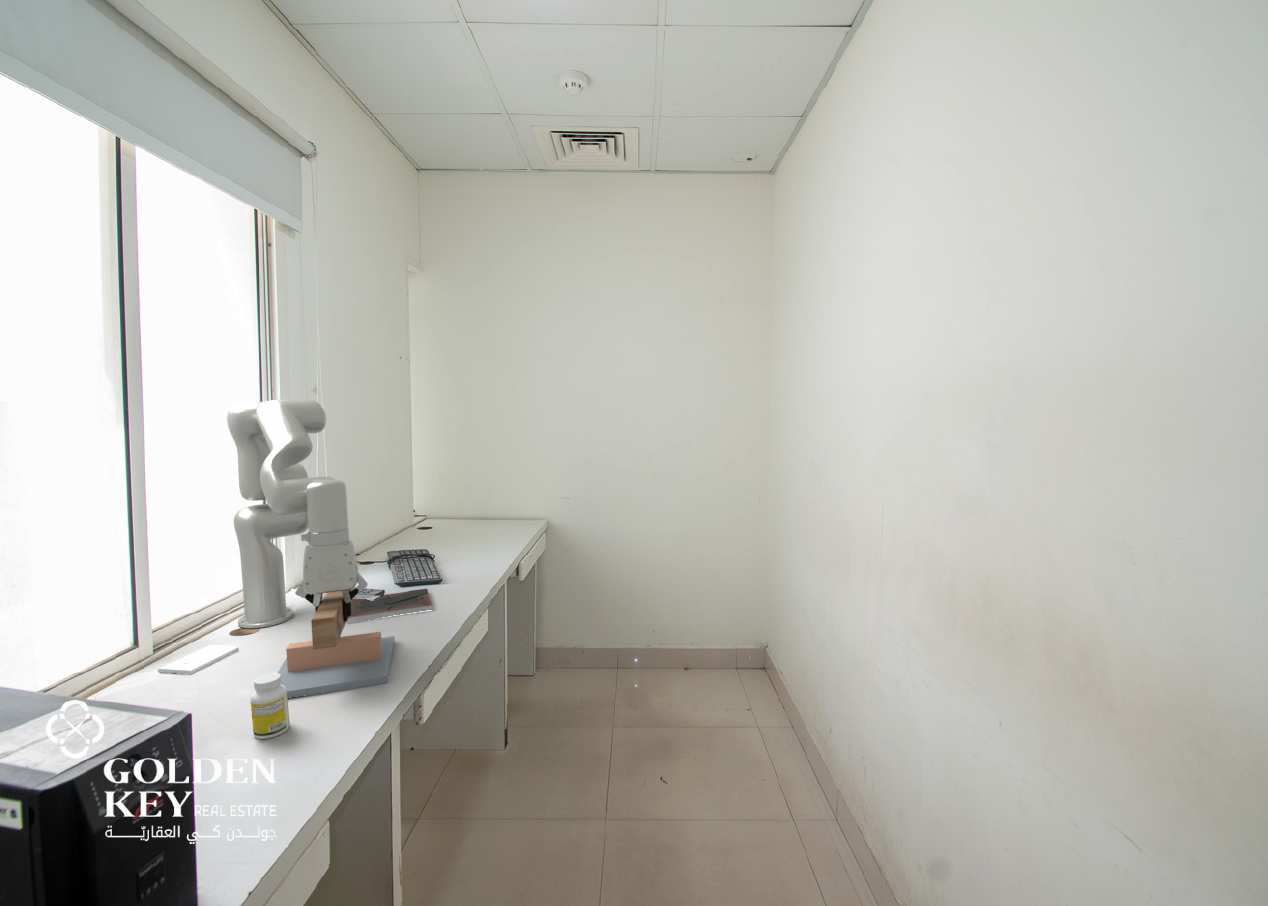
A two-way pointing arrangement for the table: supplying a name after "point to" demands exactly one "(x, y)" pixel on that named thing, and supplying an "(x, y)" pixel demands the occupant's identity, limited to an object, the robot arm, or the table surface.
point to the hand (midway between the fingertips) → (334, 620)
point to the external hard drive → (199, 659)
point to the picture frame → (390, 605)
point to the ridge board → (337, 665)
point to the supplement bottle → (269, 706)
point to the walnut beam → (328, 621)
